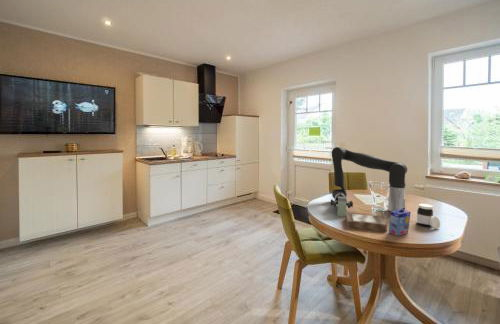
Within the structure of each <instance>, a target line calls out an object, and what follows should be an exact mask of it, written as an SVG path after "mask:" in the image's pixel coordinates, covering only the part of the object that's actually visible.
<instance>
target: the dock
mask: <svg viewBox="0 0 500 324" xmlns="http://www.w3.org/2000/svg"><path fill="white" fill-rule="evenodd" d="M345 222H346V226H347V229H356V230H363V231H364V230H366V231H373V232H374V231H375V232H376V231H377V232H387V230H388V224H387V223H386V220H385V219H384V218H383V216H381V215H373V214H372V215H370V214H358V213H357V214H356V213H347V212H346V217H345Z"/></svg>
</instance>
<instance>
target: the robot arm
mask: <svg viewBox="0 0 500 324" xmlns="http://www.w3.org/2000/svg"><path fill="white" fill-rule="evenodd" d="M331 158H332V163H333V164H332V165H333V175H334V176H333V177H334V179H333V181H334V186H335V187H339V189H333V190H332V191H331V195H332V198H333V199H330V206H333V207H334V208H337V207H338V196H339V197H346V198H347V196H348V194H347V191H346V186H345V177H344V176H345V174H344V170H343V165H342V162H343V160H344V161H347V162H348V161H349V162H352V163H354V164H355V165H358V166H361V167H364V168H366V169H372V170H381V171H385V172H388V177H389V178H388V183H389V187H388V188H389V189H388V201H387V211H388V212H390V213H391V211H395V210H399V209H402V208H405V207H406V198H405V193H406V174H407V172H408V167H407V166H406V164H404V163H402V162H397V161H393V160H392V161H391V160H386V159H383V158H380V157H377V156H374V155H370V154H366V153H363V152H355V151H351V150H348V149H346V148H343V147H340V146H339V147H337V146H336V147H334V148H333V149H332V150H331ZM351 207H352V208H353V207H354V202H353V201H352V200H350V201H348V200H347V202H346V208H348V209H351ZM405 209H406V208H405Z"/></svg>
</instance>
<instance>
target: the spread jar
mask: <svg viewBox="0 0 500 324" xmlns="http://www.w3.org/2000/svg"><path fill="white" fill-rule="evenodd" d="M433 208H434V206H433V205H431V204H428V203H419V204H418V208H417V212H416V224H417V225H418V226H422V227H427V228H432V229H434V230H438V229H440V228H441V222H440V219H439V217H437V216H434V210H433Z"/></svg>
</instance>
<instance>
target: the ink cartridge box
mask: <svg viewBox="0 0 500 324" xmlns="http://www.w3.org/2000/svg"><path fill="white" fill-rule="evenodd" d="M406 208H407V207H406V206H405V208H402V209H399V210H395V211H391V212H390V213H389V215H390V216H389V226H388V233H389V234H391V235H394V236H396V237H398V236H402V235H406V234H409V228H410V220H411V211H410V210H407V209H406Z"/></svg>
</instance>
